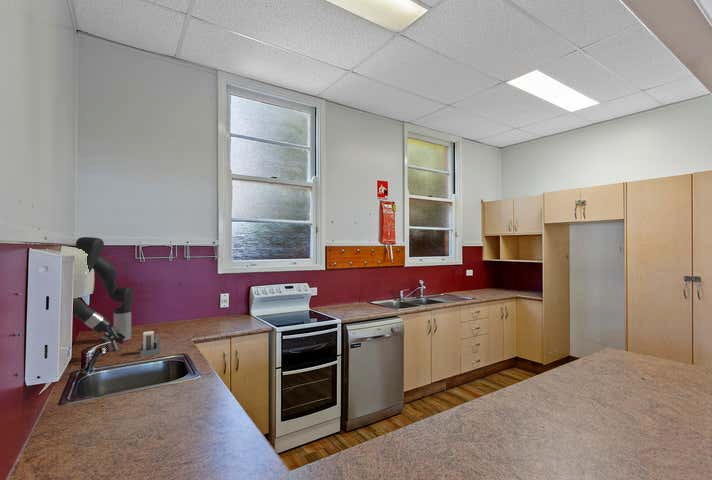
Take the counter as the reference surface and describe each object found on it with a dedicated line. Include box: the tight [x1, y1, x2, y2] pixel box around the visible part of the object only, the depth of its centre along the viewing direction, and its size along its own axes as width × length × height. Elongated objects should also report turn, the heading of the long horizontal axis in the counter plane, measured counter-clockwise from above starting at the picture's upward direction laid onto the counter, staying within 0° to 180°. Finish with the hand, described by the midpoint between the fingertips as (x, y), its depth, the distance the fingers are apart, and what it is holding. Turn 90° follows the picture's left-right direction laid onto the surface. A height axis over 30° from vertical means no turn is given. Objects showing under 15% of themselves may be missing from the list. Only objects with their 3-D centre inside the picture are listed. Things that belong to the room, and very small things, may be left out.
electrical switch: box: [99, 334, 119, 352], centre depth 197 cm, size 9×5×9 cm, turn 57°
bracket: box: [139, 332, 161, 358], centre depth 196 cm, size 14×9×8 cm, turn 31°
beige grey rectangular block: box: [142, 330, 155, 350], centre depth 195 cm, size 5×5×11 cm
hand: (123, 340), depth 189 cm, fingers open, 8 cm apart
